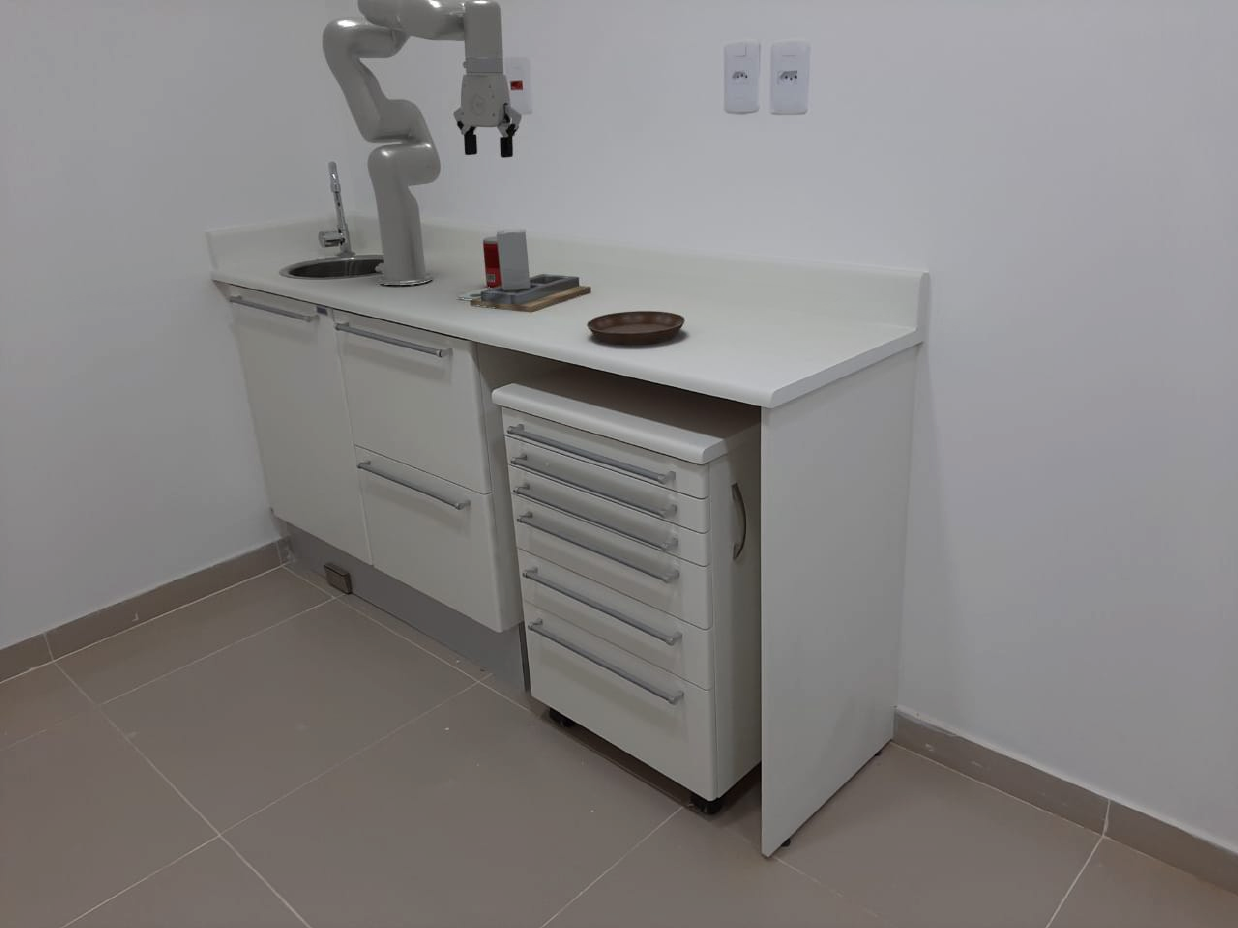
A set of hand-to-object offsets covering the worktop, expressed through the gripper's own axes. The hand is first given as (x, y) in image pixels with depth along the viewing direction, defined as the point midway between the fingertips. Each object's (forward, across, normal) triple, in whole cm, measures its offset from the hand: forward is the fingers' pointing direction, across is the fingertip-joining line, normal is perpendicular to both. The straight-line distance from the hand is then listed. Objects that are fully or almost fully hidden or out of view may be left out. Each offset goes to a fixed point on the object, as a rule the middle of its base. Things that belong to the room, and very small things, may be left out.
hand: (488, 156), depth 203 cm
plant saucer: (+28, +48, -18) cm, 58 cm away
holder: (+29, +10, +1) cm, 31 cm away
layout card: (+30, -2, -1) cm, 30 cm away
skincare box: (+26, +9, -4) cm, 28 cm away
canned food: (+30, -6, +10) cm, 32 cm away
